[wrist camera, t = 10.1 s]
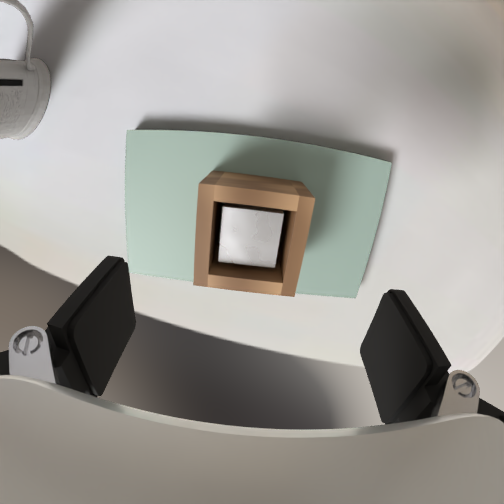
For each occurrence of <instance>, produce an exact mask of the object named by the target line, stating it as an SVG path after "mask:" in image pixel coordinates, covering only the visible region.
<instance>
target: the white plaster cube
mask: <svg viewBox="0 0 504 504" xmlns="http://www.w3.org/2000/svg"><path fill="white" fill-rule="evenodd" d="M283 216H284V213H283V210H282V209H276V208H268V207H260V206H252V205H244V204H235V203H227V202H225V203H224V205H223V210H222V221H221V233H220V245H219V259H218V262H226V263H235V264H243V265H252V266H261V267H270V268H275V264H276V258H277V252H278V246H279V240H280V234H281V228H282V222H283Z"/></svg>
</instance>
